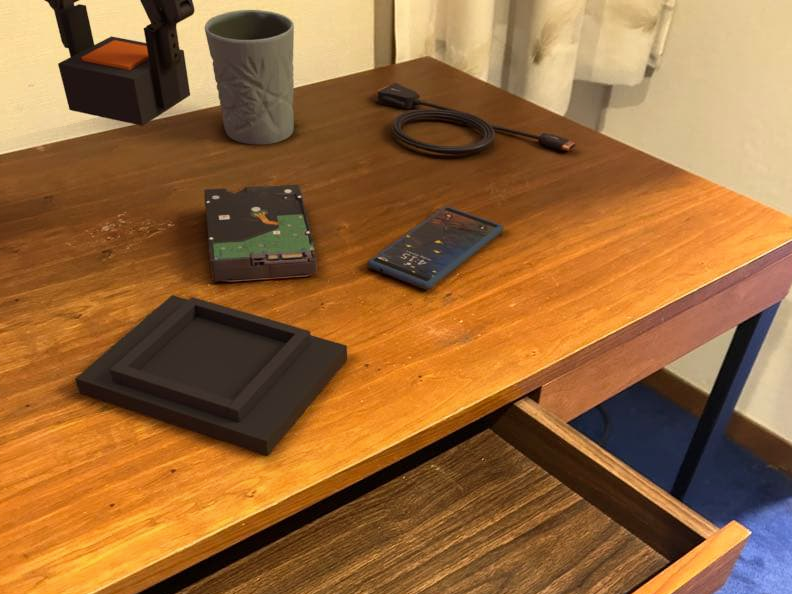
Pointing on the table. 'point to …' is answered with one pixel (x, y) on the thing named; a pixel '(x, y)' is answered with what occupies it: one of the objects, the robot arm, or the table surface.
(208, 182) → the table surface
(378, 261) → the smartphone
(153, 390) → the base pad
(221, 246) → the disk drive
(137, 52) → the black and orange block
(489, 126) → the cable
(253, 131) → the grey embossed cup
